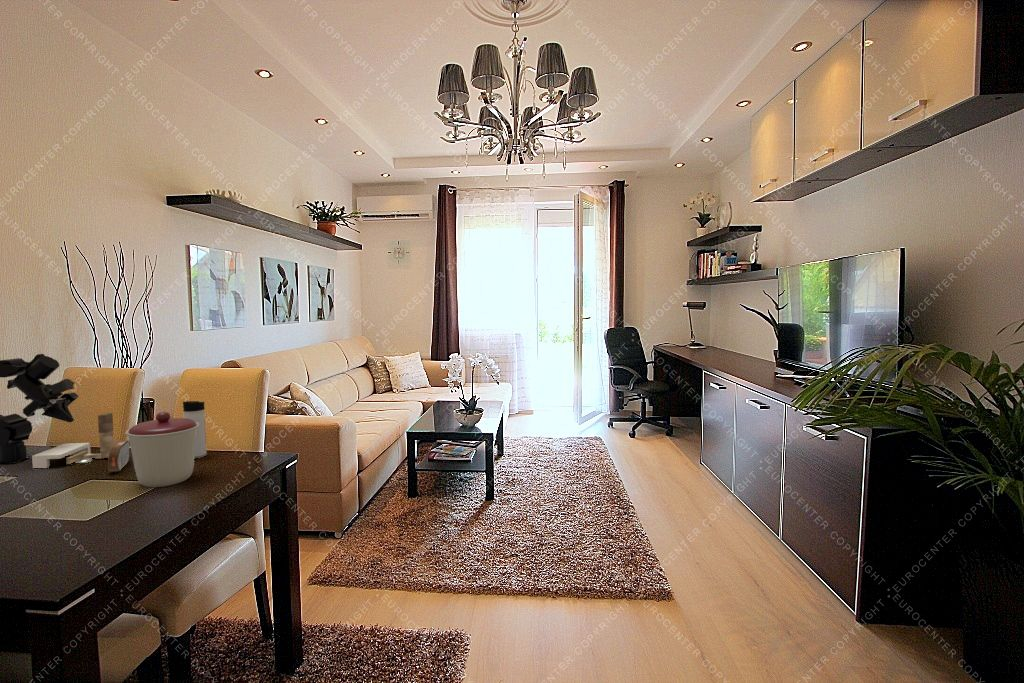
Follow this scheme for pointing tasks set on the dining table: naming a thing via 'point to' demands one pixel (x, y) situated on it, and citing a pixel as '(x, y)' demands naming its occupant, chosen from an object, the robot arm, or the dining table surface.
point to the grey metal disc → (83, 460)
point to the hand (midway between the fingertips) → (72, 421)
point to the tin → (118, 455)
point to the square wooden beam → (105, 439)
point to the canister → (163, 450)
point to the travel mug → (197, 413)
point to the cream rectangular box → (58, 453)
